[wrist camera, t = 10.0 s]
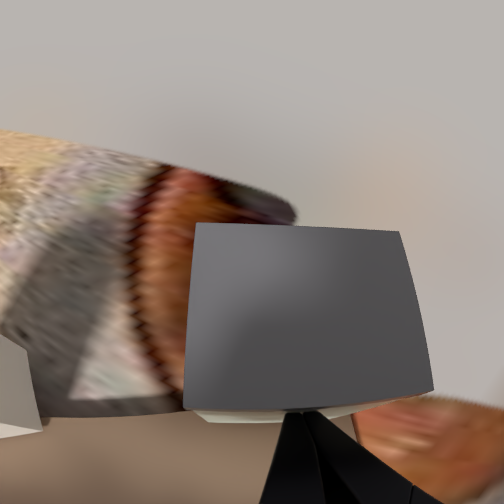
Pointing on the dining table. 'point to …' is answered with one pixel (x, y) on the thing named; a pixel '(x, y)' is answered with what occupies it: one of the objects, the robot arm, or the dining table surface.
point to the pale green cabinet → (300, 323)
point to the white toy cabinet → (16, 392)
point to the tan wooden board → (140, 460)
